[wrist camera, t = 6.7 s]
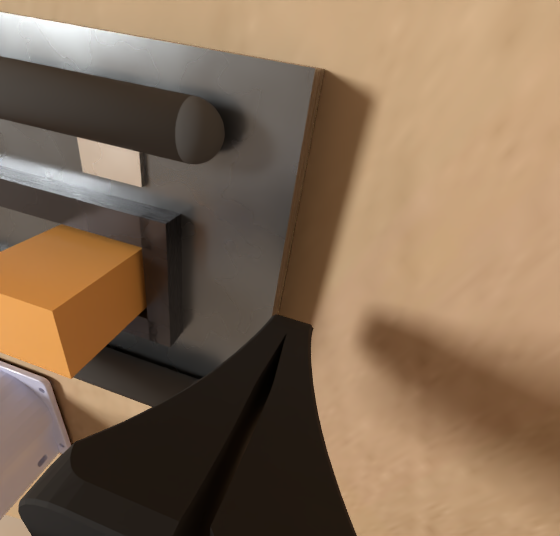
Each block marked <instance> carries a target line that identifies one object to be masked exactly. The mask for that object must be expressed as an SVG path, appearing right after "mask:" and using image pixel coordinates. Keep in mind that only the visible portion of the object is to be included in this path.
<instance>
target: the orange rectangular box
mask: <svg viewBox="0 0 560 536" xmlns="http://www.w3.org/2000/svg"><path fill="white" fill-rule="evenodd" d="M146 307H147V304H146V292H145V281H144V269H143V257H142V247H138V246H135V245H131V244H128V243H124V242H121V241H118V240H114V239H111V238H107V237H104V236H100V235H97V234H93V233H90V232H87V231H83V230H80V229H76V228H73V227H69V226H66V225H63V224H61V225H58V226H56V227H54V228H52V229H50V230H47V231H45V232H43V233H41V234H39V235H36V236H34V237H32V238H30V239H27V240H25V241H23V242H21V243H19V244H16V245H14V246H12V247H10V248H7V249H5V250H3V251H1V252H0V352H1V353H4V354H7V355H9V356H12V357H15V358H17V359H20V360H23V361H25V362H28V363H31V364H33V365H36V366H38V367H41V368H44V369H46V370H49V371H52V372H54V373H57V374H60V375H62V376H65V377H68V378H70V379H72V378H73V377H74V376H75V375H76V374H77V373H78V372H79V371H80V370H81V369H82V368H83V367H84V366H85V365H86V364H87V363H88V362H89V361H91V360H92V359H93V358H94V357H95V356H96V355H97V354H98V353H99V352H100V351H101V350H102V349H103V348H104V347H105V346H106V345H107V344H108V343H109V342H110V341H112V340H113V339H114V338H115V337H116V336H117V335H118V334H119V333H120V332H121V331H122V330H123V329H124V328H125V327H126V326H127V325H128V324H129V323H130V322H132V321H133V320H134V319H135V318H136V317H137V316H138V315H139V314H140V313H141V312H142V311H143V310H144V309H145V308H146Z"/></svg>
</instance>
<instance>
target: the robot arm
mask: <svg viewBox="0 0 560 536" xmlns="http://www.w3.org/2000/svg"><path fill="white" fill-rule="evenodd" d="M312 331H313V328H312V326H311V325H310V324H306V323H303V322H300V321H296V320H293V319H290V318H287V317H283V316H280V315H277V314H276V315H273V316H272V317H271V318H270V320H269V321H268V322H267V323H266V324H265V325H264V326H263V327H262V328H261V329H260V330H259V331H258V332H257V333H256V334H255V335H254V336H253V337H252V338H251V339H250V340H249V341H248V342H247V343H246V344H244V345H243V346H242V347H241V348H240V349H239V350H238V351H237V352H235V353H234V354H233V355H232V356H230V357H229V358H228V359H227V360H225V361H224V362H223V363H222V364H220V365H219V366H218V367H216V368H215V369H214V370H212V371H211V372H210V373H208V374H207V375H205V376H204V377H202V378H201V379H199V380H198V381H196V382H195V383H193V384H192V385H190V386H189V387H187V388H185V389H184V390H182V391H180V392H179V393H177V394H175V395H174V396H172V397H170V398H169V399H167V400H165V401H163V402H161V403H160V404H158V405H156V406H154V407H152V408H150V409H148V410H146V411H144V412H142V413H140V414H138V415H136V416H134V417H132V418H130V419H128V420H126V421H124V422H121V423H119V424H117V425H115V426H112V427H110V428H108V429H105V430H103V431H100V432H98V433H96V434H93V435H91V436H89V437H86V438H84V439H81V440H79V441H76V442H74V443H73V444H72V445H71V443H70V440H69V437H68V434H67V431H66V428H65V425H64V422H63V419H62V416H61V413H60V410H59V407H58V404H57V402H56V399H55V396H54V393H53V390H52V387H51V384H50V382H49V381H48V380H47V379H46V378H44V377H42V376H39V375H36V374H34V373H31V372H28V371H26V370H23V369H21V368H18V367H15V366H13V365H10V364H7V363H5V362H2V361H0V520H1V518H2V517H3V516H4V515H5V514H6V513H7V512H8V510H9V509H10V508H11V507H12V506H13V505H14V504H15V503H16V501H17V500H18V499H19V498H20V497H21V496H22V495H23V493H24V492H25V491H26V490H27V489H28V488H29V487H30V485H31V484H32V483H33V482H34V481H35V480H36V479H37V477H38V476H39V475H40V474H41V473H42V472H43V471H44V469H45V468H46V467H47V466H48V465H49V464H50V463H51V461H52V460H53V459H54V458H55V457H56V456H57V455H58V453H59V452H60V453H62V455H61V456H60V457H59V458H58V459H57V460H56V461H55V462H54V463H53V464H52V465H51V466H50V467H49V468H48V469H47V470H46V472H45V473H44V474H43V475H42V476H41V477H40V478H39V480H38V481H37V482H36V483H35V484H34V485H33V486H32V488H31V489H30V490H29V491H28V492H27V493H26V495H25V496H24V497H23V498H22V499H21V500H20V503H19V510H18V512H19V514H20V516H21V519H22V520H23V522H24V524H25V525H26V527H27V528H28V530H29V532H30V533H31V535H32V536H357V535H356V533H355V530H354V528H353V525H352V522H351V520H350V517H349V515H348V512H347V509H346V507H345V504H344V501H343V498H342V496H341V493H340V490H339V487H338V484H337V481H336V478H335V475H334V471H333V468H332V465H331V462H330V459H329V456H328V452H327V449H326V445H325V441H324V437H323V433H322V429H321V425H320V420H319V416H318V411H317V405H316V400H315V393H314V386H313V378H312V367H311V337H312Z"/></svg>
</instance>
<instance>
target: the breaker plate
mask: <svg viewBox="0 0 560 536" xmlns="http://www.w3.org/2000/svg"><path fill="white" fill-rule="evenodd" d="M0 56H2V57H7V58H12V59H17V60H22V61H27V62H32V63H36V64H41V65H46V66H51V67H56V68H61V69H66V70H71V71H76V72H81V73H86V74H90V75H95V76H100V77H105V78H110V79H115V80H120V81H125V82H130V83H135V84H140V85H144V86H149V87H154V88H159V89H164V90H169V91H174V92H179V93H184V94H189V95H194V96H197V97H200V98H202V99H204V100H206V101H208V102H209V103H210V104H211V105H213V106H214V107H215V109H216V110H217V111H218V113H219V114H220V116H221V119H222V121H223V124H224V132H225V136H224V142H223V145H222V147H221V149H220V151H219V152H218V154H217V155H216V156H215V157H214V158H212V159H211V160H209V161H208V162H205V163H202V164H187V163H183V162H179V161H175V160H170V159H166V158H162V157H158V156H154V155H150V154H146V153H141V152H137V151H133V150H129V149H125V148H121V147H116V146H112V145H108V144H104V143H100V142H96V141H91V140H87V139H83V138H79V137H75V136H71V135H66V134H62V133H58V132H54V131H50V130H46V129H41V128H37V127H33V126H29V125H25V124H21V123H16V122H12V121H8V120H4V119H0V252H1V251H3V250H5V249H7V248H10V247H12V246H14V245H16V244H19V243H21V242H23V241H25V240H27V239H30V238H32V237H34V236H36V235H39V234H41V233H43V232H45V231H47V230H50V229H52V228H54V227H56V226H58V225H61V224H63V225H66V226H69V227H73V228H76V229H80V230H83V231H87V232H90V233H93V234H97V235H100V236H104V237H107V238H111V239H114V240H118V241H121V242H124V243H128V244H131V245H135V246H138V247H142V257H143V269H144V281H145V292H146V304H147V307H146V308H145V309H144V310H143V311H142V312H141V313H140V314H139V315H138V316H137V317H136V318H135V319H134V320H133V321H132V322H130V323H129V324H128V325H127V326H126V327H125V328H124V329H123V330H122V331H121V332H120V333H119V334H118V335H117V336H116V337H115V338H114V339H113V340H112V341H110V342H109V343H108V344H107V345H106V346H105V347H108V348H111V349H114V350H116V351H119V352H122V353H125V354H128V355H131V356H133V357H136V358H139V359H142V360H145V361H148V362H151V363H153V364H156V365H159V366H162V367H165V368H168V369H170V370H173V371H176V372H179V373H182V374H185V375H188V376H190V377H193V378H196V379H201V378H202V377H204V376H205V375H207V374H208V373H210V372H211V371H212V370H214V369H215V368H216V367H218V366H219V365H220V364H222V363H223V362H224V361H225V360H227V359H228V358H229V357H230V356H232V355H233V354H234V353H235V352H237V351H238V350H239V349H240V348H241V347H242V346H243V345H244V344H246V343H247V342H248V341H249V340H250V339H251V338H252V337H253V336H254V335H255V334H256V333H257V332H258V331H259V330H260V329H261V328H262V327H263V326H264V325H265V324H266V323H267V322H268V321H269V320H270V318H271V317H272V316H273V315H276V314H277V315H278V314H279V309H280V304H281V298H282V293H283V288H284V283H285V277H286V272H287V267H288V261H289V256H290V251H291V246H292V240H293V235H294V230H295V224H296V219H297V214H298V209H299V203H300V198H301V193H302V187H303V182H304V177H305V172H306V166H307V161H308V156H309V150H310V145H311V140H312V135H313V129H314V124H315V119H316V113H317V108H318V103H319V98H320V92H321V87H322V82H323V76H324V71H325V69H321V68H315V67H310V66H304V65H299V64H293V63H287V62H282V61H276V60H270V59H265V58H259V57H254V56H248V55H242V54H237V53H231V52H225V51H220V50H214V49H209V48H203V47H197V46H192V45H186V44H180V43H175V42H169V41H164V40H158V39H152V38H147V37H141V36H135V35H130V34H124V33H118V32H113V31H107V30H102V29H96V28H90V27H85V26H79V25H73V24H68V23H62V22H57V21H51V20H45V19H40V18H34V17H28V16H23V15H17V14H12V13H6V12H0Z"/></svg>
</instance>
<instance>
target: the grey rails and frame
mask: <svg viewBox="0 0 560 536" xmlns="http://www.w3.org/2000/svg"><path fill="white" fill-rule="evenodd" d="M0 119H4V120H8V121H12V122H16V123H21V124H25V125H29V126H33V127H37V128H41V129H46V130H50V131H54V132H58V133H62V134H66V135H71V136H75V137H79V138H83V139H87V140H91V141H96V142H100V143H104V144H108V145H112V146H116V147H121V148H125V149H129V150H133V151H137V152H141V153H146V154H150V155H154V156H158V157H162V158H166V159H170V160H175V161H179V162H183V163H187V164H202V163H205V162H208V161H209V160H211V159H212V158H214V157H215V156H216V155H217V154H218V152H219V151H220V149H221V147H222V145H223V142H224V136H225V132H224V124H223V121H222V119H221V116H220V114H219V113H218V111H217V110H216V109H215V107H214V106H213V105H211V104H210V103H209V102H208V101H206V100H204V99H202V98H200V97H197V96H194V95H189V94H184V93H179V92H174V91H169V90H164V89H159V88H154V87H149V86H144V85H140V84H135V83H130V82H125V81H120V80H115V79H110V78H105V77H100V76H95V75H90V74H86V73H81V72H76V71H71V70H66V69H61V68H56V67H51V66H46V65H41V64H36V63H32V62H27V61H22V60H17V59H12V58H7V57H2V56H0ZM74 378H77V379H79V380H82V381H85V382H87V383H90V384H93V385H95V386H98V387H101V388H103V389H106V390H109V391H111V392H114V393H117V394H119V395H122V396H125V397H127V398H130V399H133V400H135V401H138V402H141V403H143V404H146V405H149V406H151V407H154V406H156V405H158V404H160V403H161V402H163V401H165V400H167V399H169V398H170V397H172V396H174V395H175V394H177V393H179V392H180V391H182V390H184V389H185V388H187V387H189V386H190V385H192V384H193V383H195V382H196V381H198V380H199V379H196V378H193V377H190V376H188V375H185V374H182V373H179V372H176V371H173V370H170V369H168V368H165V367H162V366H159V365H156V364H153V363H151V362H148V361H145V360H142V359H139V358H136V357H133V356H131V355H128V354H125V353H122V352H119V351H116V350H114V349H111V348H108V347H104V348H103V349H102V350H101V351H100V352H99V353H98V354H97V355H96V356H95V357H94V358H93V359H92V360H91V361H89V362H88V363H87V364H86V365H85V366H84V367H83V368H82V369H81V370H80V371H79V372H78V373H77V374H76V375H75V376H74Z"/></svg>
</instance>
